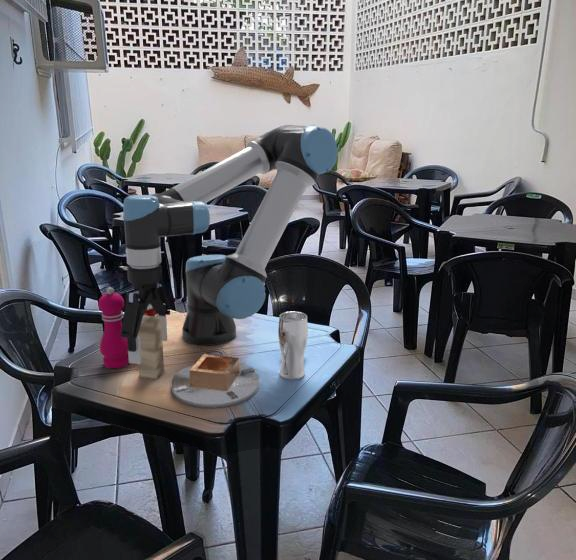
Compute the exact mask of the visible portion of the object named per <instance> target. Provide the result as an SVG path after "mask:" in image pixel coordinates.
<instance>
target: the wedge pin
mask: <svg viewBox="0 0 576 560" xmlns="http://www.w3.org/2000/svg"><path fill="white" fill-rule="evenodd" d="M138 336H140V347H141V364H137V368H138V369H137V370H138V377H139V378H145V379H146V378H147V379H154V380H156V379H158V377H159V376H160V375H162V373H164V371H165V363H164V362H165V361H164V345H163V343H164V342H163V341H162V327H161V317H155V316H145V315H144V316H143V318H142V322H141V325H140V329H139V332H138Z"/></svg>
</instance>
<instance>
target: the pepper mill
mask: <svg viewBox="0 0 576 560" xmlns="http://www.w3.org/2000/svg"><path fill="white" fill-rule="evenodd" d="M98 309H99V310H100V312H102V313H101V320H102V321H103V324H104V325H103V326H104V331H103V334H102V337H101V340H100V344H99V351H100V353H101V355H102V356H104V357H102V362H103V366H104V367H105V368H106V367H108V368H107V369H110V368H117V369H122V368H124V366H125V367H126V365H127V366H128V365H129V364H130V363H129V358H128V343H127V338H122V337H121V329H122V323H123V320H122V319H123V317H124V311H123V310H124V309H125V299H124V297H123V296H122V295H121V294H119V293H115V289H114V288H113V287H111V286H110V287H107V289H106V293H105V294H103V295H101V297H100V298H99V299H98ZM121 367H122V368H121Z"/></svg>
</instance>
